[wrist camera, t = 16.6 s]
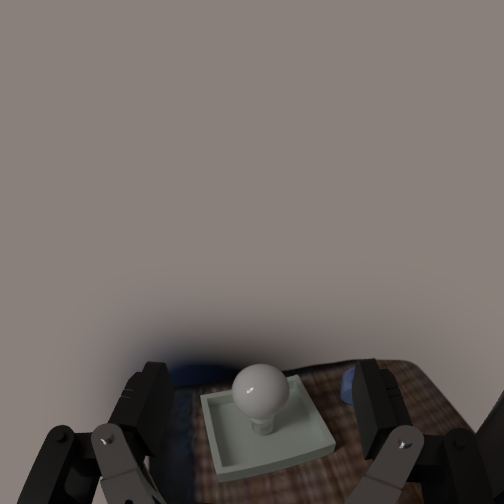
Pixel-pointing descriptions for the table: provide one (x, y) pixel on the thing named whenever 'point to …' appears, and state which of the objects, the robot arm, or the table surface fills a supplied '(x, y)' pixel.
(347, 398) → the decorative dice
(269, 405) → the lightbulb
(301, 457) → the parts tray
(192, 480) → the table surface
